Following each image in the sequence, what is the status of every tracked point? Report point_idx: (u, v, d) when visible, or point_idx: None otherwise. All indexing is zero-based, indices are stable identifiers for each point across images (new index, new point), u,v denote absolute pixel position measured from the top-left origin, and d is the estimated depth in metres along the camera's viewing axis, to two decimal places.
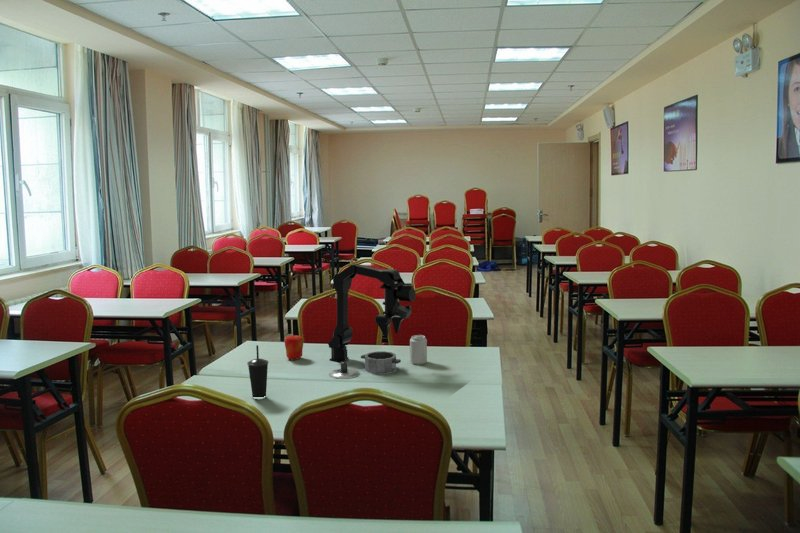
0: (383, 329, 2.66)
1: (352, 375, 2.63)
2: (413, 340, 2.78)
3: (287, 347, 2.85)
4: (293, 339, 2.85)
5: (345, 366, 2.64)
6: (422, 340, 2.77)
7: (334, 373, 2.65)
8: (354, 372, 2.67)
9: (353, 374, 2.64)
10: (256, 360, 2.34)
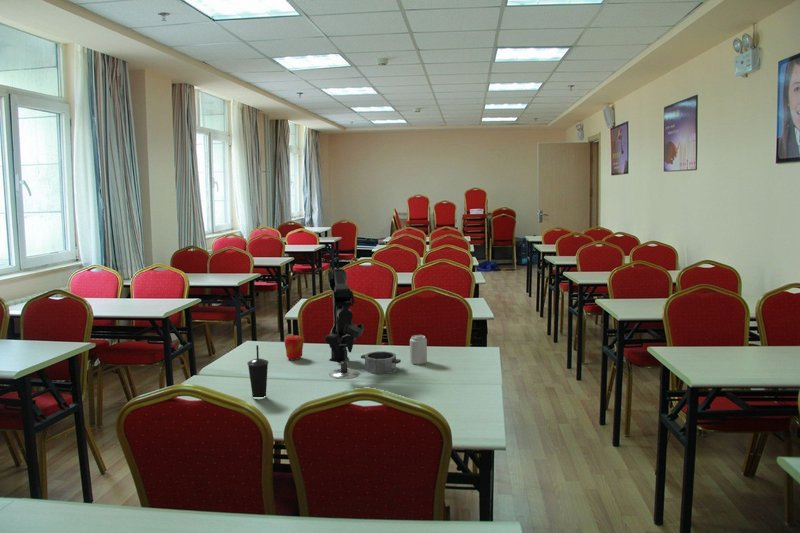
0: (334, 349, 2.60)
1: (352, 375, 2.63)
2: (413, 340, 2.78)
3: (287, 347, 2.85)
4: (293, 339, 2.85)
5: (345, 366, 2.64)
6: (422, 340, 2.77)
7: (334, 373, 2.65)
8: (354, 372, 2.67)
9: (353, 374, 2.64)
10: (256, 360, 2.34)
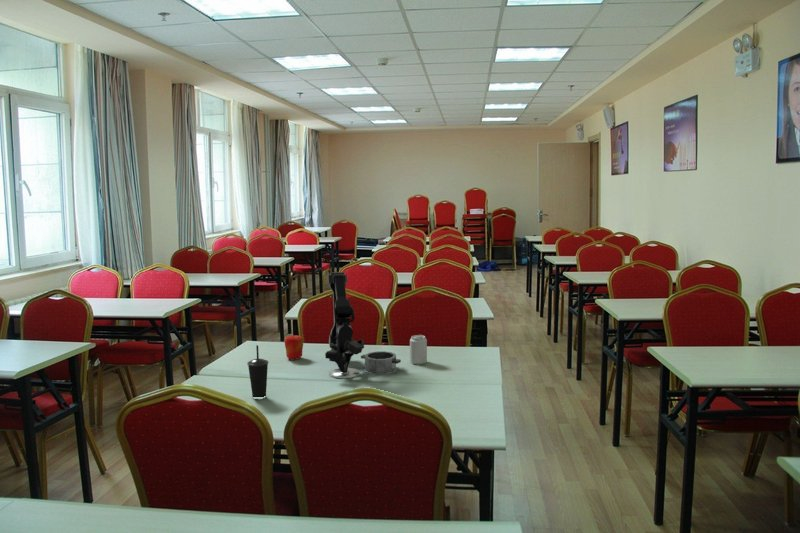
0: (339, 363, 2.63)
1: (352, 374, 2.63)
2: (413, 340, 2.78)
3: (287, 347, 2.85)
4: (293, 339, 2.85)
5: (345, 365, 2.64)
6: (422, 340, 2.77)
7: (334, 373, 2.65)
8: (354, 371, 2.67)
9: (353, 373, 2.64)
10: (256, 360, 2.34)
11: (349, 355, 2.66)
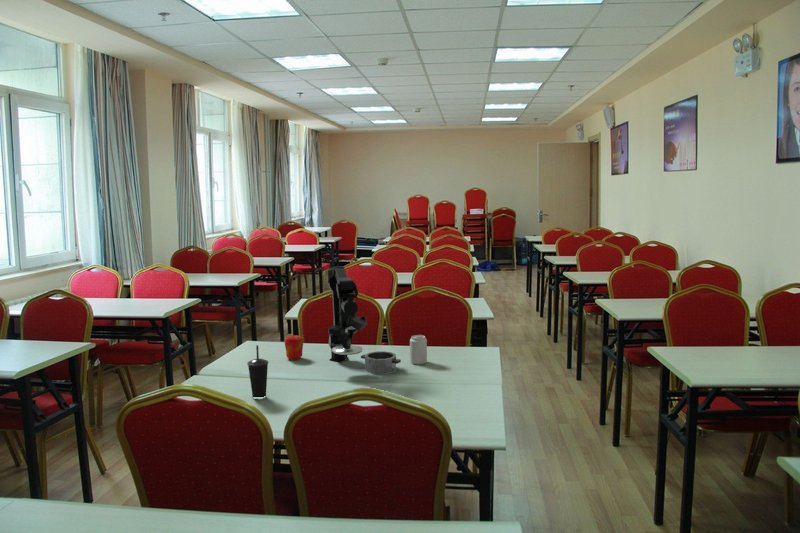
0: (342, 339, 2.62)
1: (355, 350, 2.62)
2: (413, 340, 2.78)
3: (287, 347, 2.85)
4: (293, 339, 2.85)
5: (348, 342, 2.63)
6: (422, 340, 2.77)
7: (337, 349, 2.64)
8: (357, 348, 2.66)
9: (356, 350, 2.63)
10: (256, 360, 2.34)
11: (352, 331, 2.65)
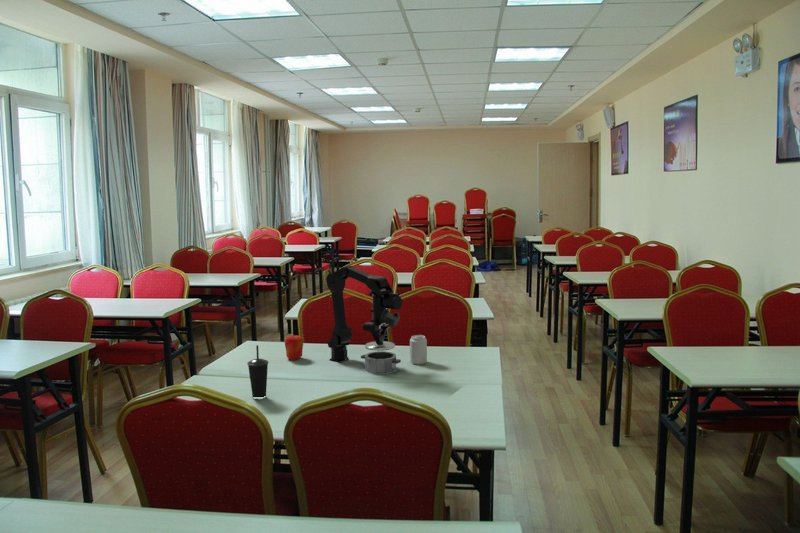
0: (375, 335, 2.68)
1: (388, 346, 2.68)
2: (413, 340, 2.78)
3: (287, 347, 2.85)
4: (293, 339, 2.85)
5: (381, 338, 2.69)
6: (422, 340, 2.77)
7: (370, 345, 2.70)
8: (389, 344, 2.72)
9: (389, 345, 2.69)
10: (256, 360, 2.34)
11: (385, 328, 2.71)
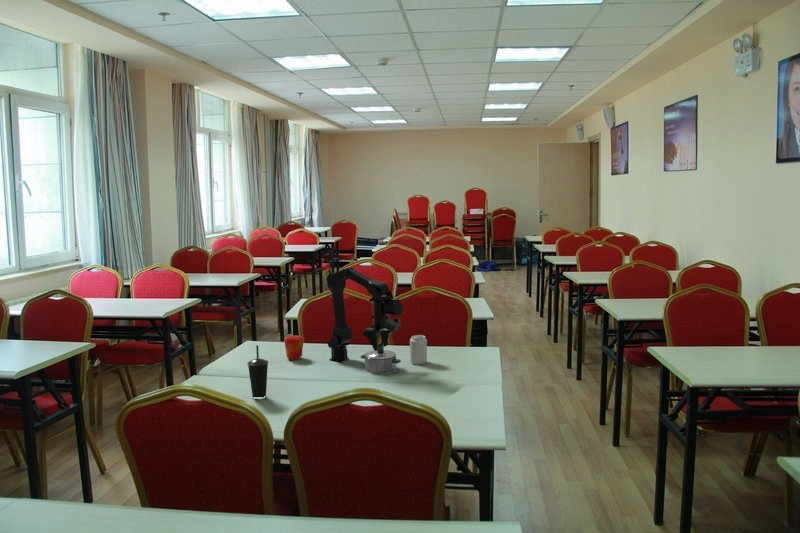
0: (373, 342, 2.67)
1: (389, 355, 2.68)
2: (413, 340, 2.78)
3: (287, 347, 2.85)
4: (293, 339, 2.85)
5: (381, 347, 2.70)
6: (422, 340, 2.77)
7: (370, 354, 2.71)
8: (390, 352, 2.73)
9: (389, 354, 2.70)
10: (256, 360, 2.34)
11: (388, 332, 2.73)
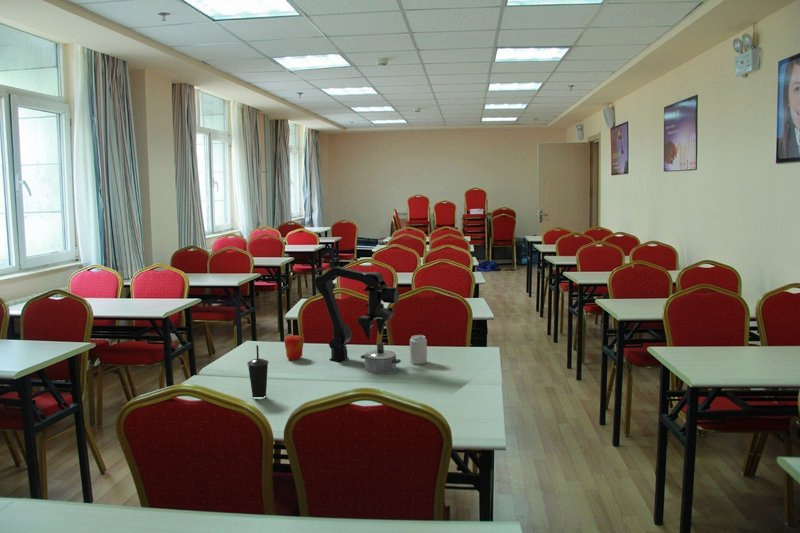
0: (366, 330, 2.74)
1: (389, 355, 2.68)
2: (413, 340, 2.78)
3: (287, 347, 2.85)
4: (293, 339, 2.85)
5: (381, 347, 2.70)
6: (422, 340, 2.77)
7: (370, 354, 2.71)
8: (390, 352, 2.73)
9: (389, 354, 2.70)
10: (256, 360, 2.34)
11: (383, 321, 2.82)
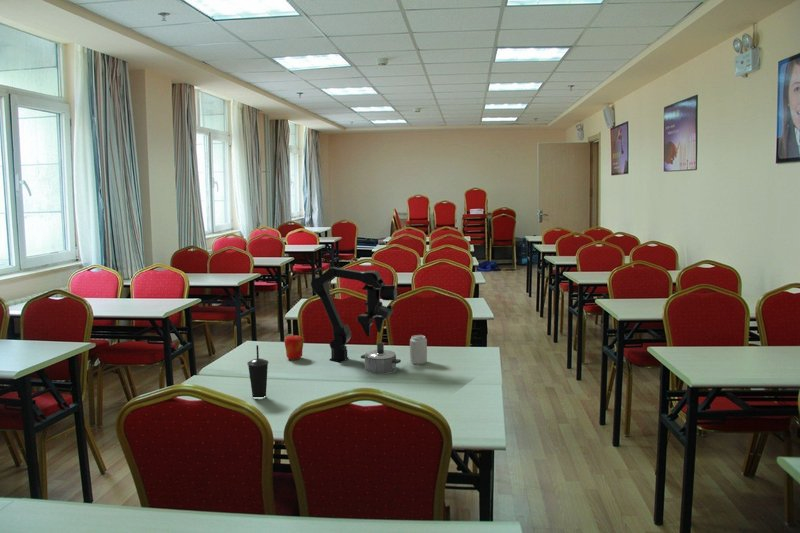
0: (365, 328, 2.76)
1: (389, 355, 2.68)
2: (413, 340, 2.78)
3: (287, 347, 2.85)
4: (293, 339, 2.85)
5: (381, 347, 2.70)
6: (422, 340, 2.77)
7: (370, 354, 2.71)
8: (390, 352, 2.73)
9: (389, 354, 2.70)
10: (256, 360, 2.34)
11: (382, 318, 2.84)
